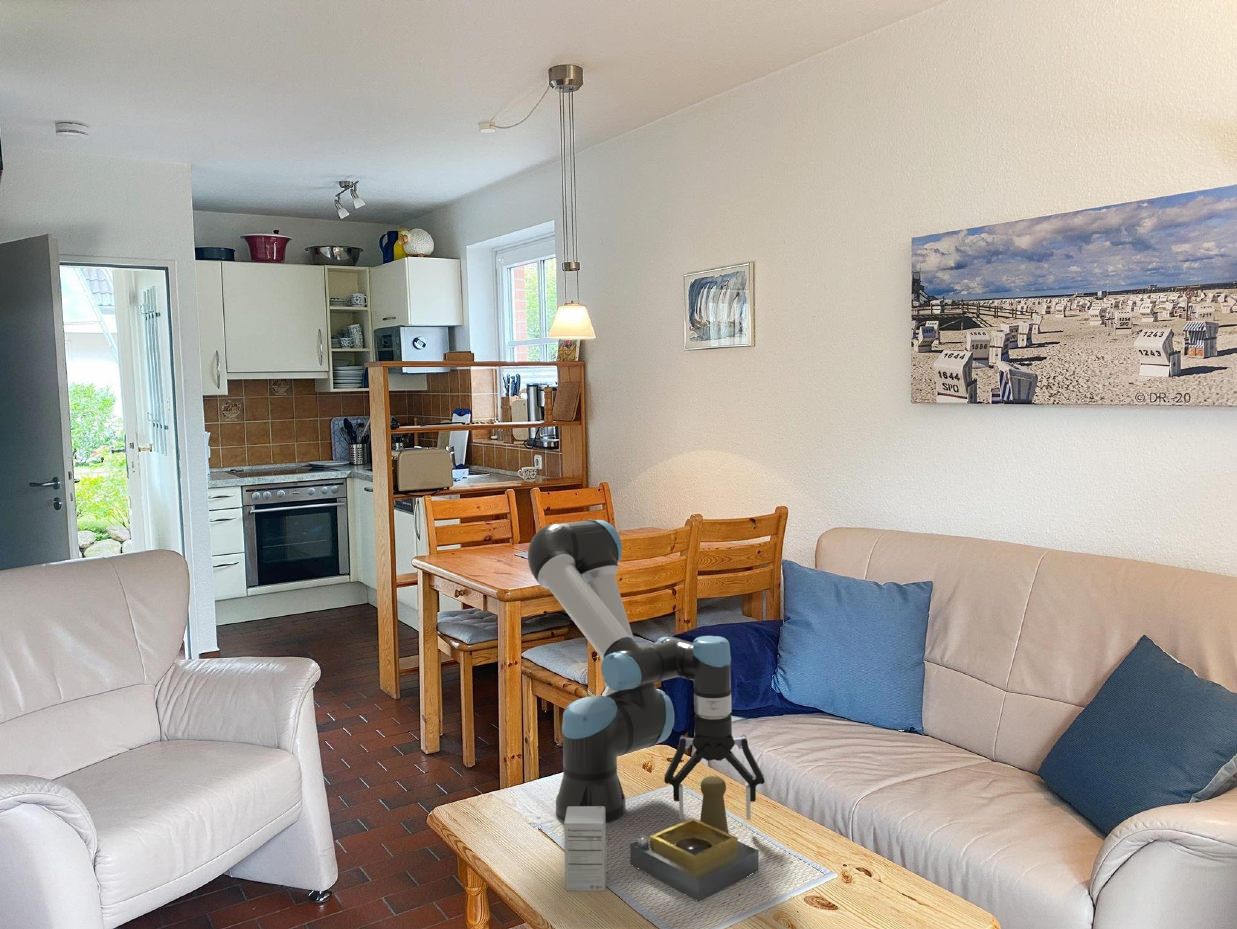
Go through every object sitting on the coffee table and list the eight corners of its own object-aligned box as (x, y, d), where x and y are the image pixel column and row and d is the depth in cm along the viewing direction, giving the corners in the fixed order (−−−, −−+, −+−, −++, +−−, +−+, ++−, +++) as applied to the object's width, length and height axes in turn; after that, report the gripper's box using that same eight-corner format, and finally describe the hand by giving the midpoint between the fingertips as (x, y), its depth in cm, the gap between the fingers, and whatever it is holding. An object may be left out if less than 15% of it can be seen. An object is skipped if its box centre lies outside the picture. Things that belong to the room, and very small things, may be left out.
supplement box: (567, 871, 172) (566, 805, 172) (607, 871, 172) (606, 805, 171) (564, 891, 165) (563, 822, 164) (605, 891, 165) (604, 822, 164)
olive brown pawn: (727, 838, 185) (726, 785, 184) (697, 836, 186) (696, 783, 185) (729, 825, 190) (729, 773, 190) (700, 823, 192) (700, 771, 191)
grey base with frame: (630, 864, 174) (630, 833, 174) (689, 838, 185) (689, 809, 185) (699, 902, 161) (698, 868, 161) (758, 871, 171) (758, 839, 171)
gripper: (651, 719, 184) (653, 823, 185) (776, 719, 182) (778, 824, 183) (652, 708, 191) (654, 808, 192) (772, 708, 190) (774, 809, 191)
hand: (714, 816), depth 188 cm, fingers open, 13 cm apart
